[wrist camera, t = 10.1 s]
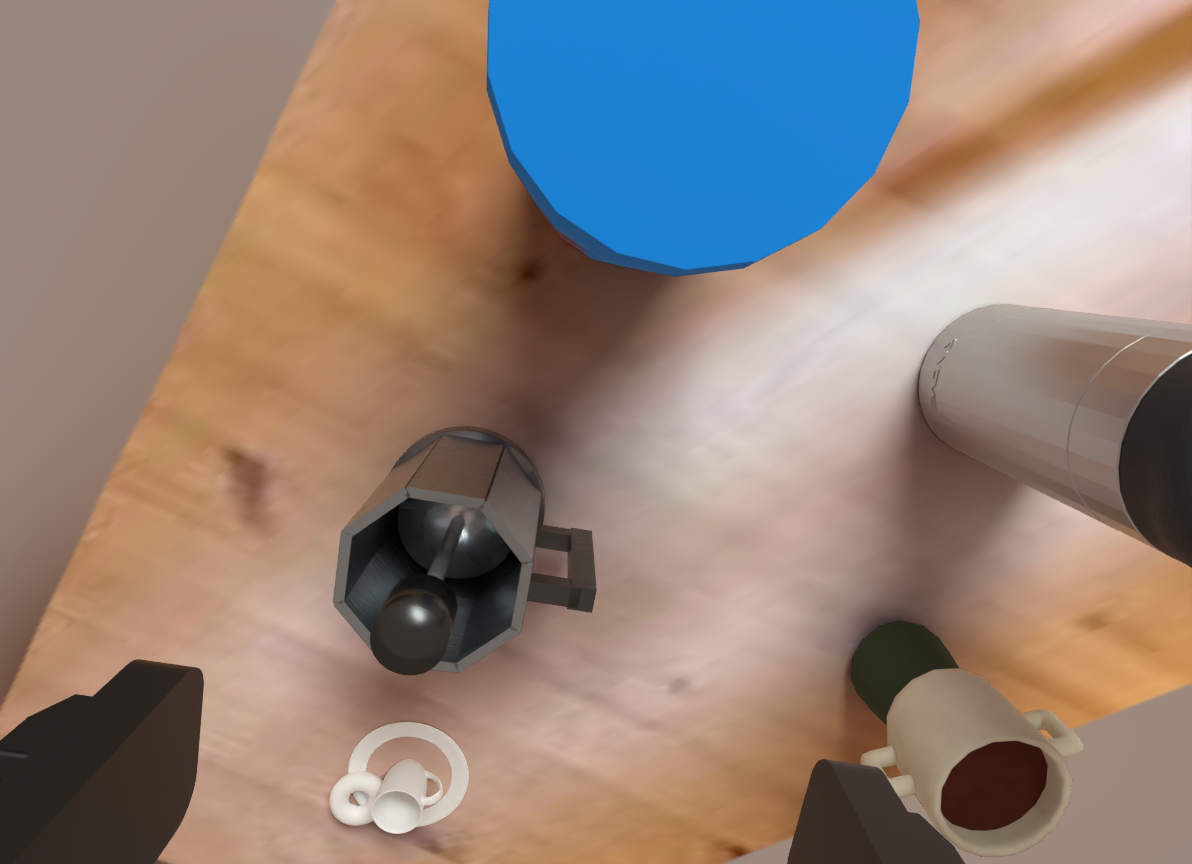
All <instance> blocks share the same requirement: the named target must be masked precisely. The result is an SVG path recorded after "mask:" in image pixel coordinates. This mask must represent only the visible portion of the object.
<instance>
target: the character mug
mask: <svg viewBox="0 0 1192 864" xmlns="http://www.w3.org/2000/svg"><path fill="white" fill-rule="evenodd" d="M851 680H852V682H853V684H854V687H855V689H856V691H857V693H858V695H859V696H860V697H861V698H862V700H863V701H864V702H865V703H866V704H867V706H868V707H869V708H870V709H871V710H872V711H873V712H874V713H875V714H876V715H877V716H878V717H879V718H880V719H881V720H882V721H883V722H884V723H885V724H886V725H887V747H883V748H879V749H875V750H871V751H868V752H866V753H864V754H862V756H861V758H860V763H861V765H867V766H874V767H878V768H880V769H881V770H882V771H883V772H884V770H883V768H885V767H889V766H894V765H897V767H898V769H899V770H900V772H901V774H902V775H901V776H897V777H893V778H888V777H887V775H886V773H885V772H884V774H885V775H886V777H887V779H888V780H889V782H890V783H891V785H892V787H893V788H894V790H895V792H896V793H897V795H898V797H899V798H902V797H906V796H910V795H914V794H915V796H916V797H917V799H918V800H919V802H920V803H921V804H922V806H923V807H924V809H925V810H926V812H927V814H928V815H929V817H930V819H931V820H932V821H933V823H934V825H935V826H936V828H937V829H938V830H939V831H940V832H941V833H942V834H943V835H944V836H945V837H946V838H947V839H948V840H950V841H951V842H952V843H953V844H954V845H955V846H957V847H958V848H959V849H961V850H964V851H967V852H969V853H972V854H975V855H978V856H981V857H1004V856H1011V855H1014V854H1017V853H1020V852H1023V851H1025V850H1027V849H1029V848H1030V847H1032V846H1034V845H1036V844H1038V843H1040V842H1041V841H1042V840H1043V839H1044V838H1045V837H1046V836H1047V835H1048V834H1049V833H1050V832H1051V831H1052V830H1053V829H1054V828H1055V827H1057V826H1058V824H1059V822H1060V820H1061V818H1062V816H1063V815H1064V813H1065V811H1066V809H1067V807H1068V805H1069V803H1070V795H1071V787H1072V777H1071V774H1070V772H1069V769H1068V767H1067V764H1066V761H1065V759H1064V758H1067V757H1071V756H1075V755H1076V754H1078V753H1080V752H1081V751H1082V749H1083V748H1084V747H1083V745H1082V742H1081V740H1080V739H1079V738H1078V736H1077V735H1076V734H1075V733H1074V732H1073V731H1072V730H1071V729H1070V728H1069V727H1068V726H1067V725H1065V724H1064V723H1063V722H1062V721H1061V720H1060V719H1059V718H1058V717H1057V716H1056V715H1055V714H1054V713H1052V712H1050V711H1048V710H1047V709H1046V710H1035V711H1031V712H1027V713H1021V712H1020V711H1019V710H1018V709H1017V708H1016V707H1015V706H1014V705H1013V704H1012V703H1011V702H1010V701H1009V700H1008V699H1007V698H1006V697H1005V696H1004V695H1003V694H1002V693H1001V692H1000V691H999V690H997V689H996V688H995V687H994V686H993V685H992V684H991V683H990V682H988V681H987V680H986V679H984V678H982V677H981V676H979V675H976V674H973V673H970V672H967V671H964V670H961V669H960V668H959V667H958V665H957V664H956V662H955V660H954V659H953V657H952V656H951V654H950V653H949V651H948V650H947V648H946V647H945V646H944V644H943V643H942V642H941V640H940V639H939V638H938V637H937V636H935V635H934V634H933V633H932V632H930V631H929V630H928V629H926V628H925V627H924V626H922V625H917V624H913V623H908V622H903V621H899V622H895V623H891V624H887V625H882V626H879V627H878V628H877V629H875V630H874V631H873V632H872V633H870V634H869V635H868V636H867V637H866V638H864V639H863V640H862V642H861V644H860V646H859V648H858V650H857V652H856V654H855V656H854V657H853V659H852V675H851ZM1039 730H1045V731H1047V732H1048V733H1049V734H1050V735H1051V736H1052V737H1053V738H1054V739H1049V740H1048V739H1047V738H1046V737H1045V736H1044V735H1043V734H1042V733H1041V732H1040V731H1039Z"/></svg>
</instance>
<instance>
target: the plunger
mask: <svg viewBox="0 0 1192 864" xmlns="http://www.w3.org/2000/svg"><path fill="white" fill-rule="evenodd" d="M398 529H399V534H400V537H401V540H402V542H403V544H404V546H405V548H406V550H407V551H408V553H409V554H410V555H411V557H412V558H413V559H414V560H415V561H416V562H417V563H419V564H420V565H421V566H422V567H424V568H425V569H427V570H429V571H428V573H427V574H416V575H412V576H408V577H406V578H404V579H402V580H401V581H400V582H398V583H397V584H396V585H395V586H394V588H393V589H392V591H391V593H390V594H389V596H388V598H387V600H386V602H385V604H384V606H383V608H382V609H381V611H380V613H379V615H378V617H377V619H376V621H375V623H374V624H373V626H372V629H371V633H370V645H371V649H372V652H373V654H374V656H375V657H376V659H377V660H378V661H379V662H380V663H381V664H382V665H383V666H384V667H385V668H387V669H389V670H390V671H392V672H395V673H398V674H402V675H418V674H422V673H425V672H427V671H429V670H431V669H432V668H434V667H435V666H436V665H437V664H438V663H439V662H440V661H441V659H442V658H443V656H444V654H445V651H446V648H447V645H448V642H449V639H450V635H451V632H452V629H453V626H454V623H455V620H456V616H457V612H458V603H457V598H456V596H455V594H454V592H453V590H452V589H451V587H450V586H449V585H448V584H447V583H445V582H444V581H443V579H444V577H449V578H470V577H475V576H479V575H482V574H484V573H486V572H488V571H490V570H492V569H493V568H495V567H496V566H497V565H499V564H500V563H501V562H502V561H503V560H504V559H505V558H506V557H507V555H508V554H509V553H510V551H511V549H510V547H509V546H508V545H507V543H506V542H505V541H504V540H503V538H502V537H501V536H500V534H499V533H498V532H497V530H496V529H495V528H494V527H493V525H492V524H491V523H490V521H489V520H488V519H487V517H486V516H485V515H484V514H483V512H482V511H481V510H480V509H476V508H470V507H464V506H458V505H452V504H445V503H439V502H433V501H427V500H421V499H415V498H407V499H406V500H404V501H403V502H402V503H400V506H399V511H398Z"/></svg>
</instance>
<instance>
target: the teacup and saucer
mask: <svg viewBox="0 0 1192 864" xmlns="http://www.w3.org/2000/svg"><path fill="white" fill-rule="evenodd" d="M398 737H417V738H421V739H424V740H427V741H429V742H431V743H433V744H434V745H436V746H437V747H438V748H440V749H441V750H442V751H443V753H444V754H445V755H446V757H447V758H448V760H449V763H450V765H451V769H452V781H451V785H450V788H449V790H448V792H447V793H446V795H445V796H444V797H443V798H442V796H443V786H442V783H441V781H440V779H439V778H438V777H437V776H435V775H434V774H432V773H430V772H428V771H425V769H424V768H423V766H422V765H421V764H420V763H419V762H417V761H415V760H411V759H405V760H402V761H399V762H398V763H396V764H395V765H394V766H393V767H392V768H391V769H390V770H389V772H388V773H387V775H386V776H385V778H384V780H383V781H382V780H381V779H380V778H379V777H378V776H377V775H375V774H373V773H371V772H366V766H367V762H368V760H369V758H370V756H371V754H372V753H373V752H374V751H375V749H376V748H378V747H379V746H380V745H381V744H383V743H385V742H386V741H389V740H391V739H394V738H398ZM427 778H428V779H432V780H434V781H435V782H436V783H437V784H438V785H439V791H438V792H437V793H436V794H435V795H433V796H431V797H426V790H427ZM468 782H469V770H468V765H467V761H466V759H465V756H464V754H463V752H462V751H461V749H460V748H459V746H458V745H457V744H456V743H455V742H454V741H453V740H452V739H451V738H450V737H449V736H448V735H446V734H445V733H443V732H442V731H440V730H438V729H436V728H434V727H432V726H429V725H426V724H422V723H416V722H397V723H392V724H388V725H385V726H382V727H380V728H377V729H376V730H374V731H372V732H371V733H369V734H368V735H366V736H365V737H364V738H363V739H362V740H361V741H360V742H359V743H358V745H357V746H356V748H355V749H354V751H353V753H352V755H351V758H350V761H349V765H348V774H347V775H345V776H344V777H342V778H341V779H340V780H339V781H338V782H337V783H336V784H335V786H334V787H333V789H332V791H331V793H330V797H329V804H330V809H331V812H332V813H333V815H334V816H335V817H336V818H337V819H338V820H339V821H340V822H342V823H344V824H347V825H352V826H359V825H365V824H368V823H370V822H372V821H374V822H375V823H376V825H377V826H378V827H380V828H381V829H382V830H384V831H386V832H389V833H394V834H401V833H406V832H409V831H411V830H412V829H414V828H415V827H421V826H426V825H430V824H433V823H435V822H437V821H440V820H441V819H443V818H445V817H446V816H448V815H449V814H450V813H452V812H453V811H454V810H455V809H456V808H457V806H458V805H459V804H460V802H461V801H462V799H463V797H464V795H465V793H466V790H467V787H468ZM351 794H353V796H354V798H355V799H356V801H357V802H358V804H359V805H360V806H357V805H353V804H351V803H350V801H349V796H350V795H351ZM441 798H442V799H441ZM440 799H441V800H440ZM439 800H440V801H439ZM438 801H439V802H438ZM437 802H438V803H437ZM435 803H436V804H435ZM433 804H435V805H433ZM429 805H433V806H431V807H429V808H427V809H424V806H429Z"/></svg>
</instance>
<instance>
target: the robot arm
mask: <svg viewBox="0 0 1192 864" xmlns="http://www.w3.org/2000/svg"><path fill="white" fill-rule="evenodd" d="M919 401H920V405H921V409H922V412H923V416H924V417H925V419H926V421H927V423H928V425H929V427H930V428H931V430H932V431H933V432H934V433H935V434H936V435H937V436H938V438H939V439H940V440H942V441H943V442H945V443H946V444H948V445H949V446H950V447H952V448H954V449H956V450H958V451H960V452H962V453H964V454H966V455H968V456H970V457H972V458H974V459H976V460H978V461H980V462H982V463H984V464H985V465H987V466H989V467H991V468H993V469H995V470H997V471H999V472H1001V473H1003V474H1005V475H1007V476H1009V477H1011V478H1013V479H1015V480H1017V481H1019V482H1021V483H1023V484H1025V485H1027V486H1029V487H1031V488H1033V489H1035V490H1037V491H1039V492H1041V493H1043V494H1045V495H1047V496H1049V497H1051V498H1053V499H1055V500H1057V501H1059V502H1061V503H1063V504H1065V505H1068V506H1070V507H1072V508H1074V509H1076V510H1078V511H1080V512H1082V513H1084V514H1086V515H1088V516H1090V517H1092V518H1094V519H1096V520H1098V521H1100V522H1102V523H1104V524H1106V525H1108V526H1110V527H1112V528H1114V529H1116V530H1118V531H1121V532H1123V533H1125V534H1127V535H1129V536H1131V537H1133V538H1135V539H1137V540H1139V541H1141V542H1143V543H1145V544H1147V545H1149V546H1151V547H1153V548H1155V549H1157V550H1159V551H1161V552H1163V553H1165V554H1166V555H1168V556H1170V557H1172V558H1174V559H1176V560H1179V561H1181V562H1183V563H1185V564H1187V565H1188V566H1190V567H1191V568H1192V325H1191V324H1182V323H1173V322H1164V321H1155V320H1145V319H1136V318H1127V317H1118V316H1109V315H1100V314H1091V313H1082V312H1073V311H1063V310H1055V309H1048V308H1039V307H1029V306H1020V305H1011V304H1007V305H991V306H986V307H982V308H978V309H976V310H973V311H971V312H969V313H967V314H965V315H963V316H961V317H960V318H958V319H957V320H956V321H954V322H953V323H951V324H950V325H949V326H948V327H947V328H946V329H945V330H944V331H943V332H942V333H941V334H940V335H939V336H938V337H937V338H936V340H935V341H934V343H933V345H932V346H931V348H930V349H929V351H928V352H927V355H926V358H925V360H924V363H923V365H922V368H921V373H920V379H919ZM203 688H204V680H203V674H202V671H201V670H200V669H199V668H195V667H188V666H181V665H174V664H167V663H160V662H153V661H146V660H139V659H137V660H134V661H132V662H130V663H129V664H128V665H126V666H125V667H124V668H123V669H122V670H121V671H120V672H119V673H118V674H117V675H116V676H114V677H113V678H112V679H111V680H110V681H109V682H108V683H107V684H106V685H105V686H104V687H103V688H101V689H100V690H99V691H98V692H97V693H96V694H95V695H94V696H93V697H91V696H84V695H77V694H75V695H73V696H71V697H69V698H67V699H65V700H63V701H61V702H59V703H57V704H54V705H52V706H50V707H48V708H46V709H44V710H42V711H40V712H38V713H36V714H34V715H31V716H29V717H28V718H26V719H25V720H24V721H23V722H22V723H20V724H19V725H18V726H17V727H16V728H15V729H13V730H12V731H11V732H10V733H9V734H8V735H6V736H5V737H4V738H3V739H2V740H0V864H154V863H155V861H156V860H157V859H158V857H159V856H160V854H161V853H162V851H163V850H164V848H165V847H166V845H167V844H168V842H169V841H170V840H171V838H172V837H173V835H174V834H175V832H176V831H177V829H178V827H179V826H180V824H181V822H182V820H183V818H184V815H185V813H186V811H187V808H188V806H189V803H190V800H191V797H192V794H193V790H194V786H195V781H196V774H197V763H198V751H199V738H200V726H201V713H202V701H203ZM787 864H965V863H964V861H963V860H962V858H961V857H960V855H959V854H958V852H957V851H956V849H955V847H954V846H953V845H952V844H951V843H950V842H949V841H948V840H947V839H945V838H944V837H943V836H942V835H941V834H940V833H939V832H938V831H937V830H936V829H935V828H934V827H932V826H931V825H930V824H929V823H928V822H927V821H926V820H925V819H924V818H923V817H922V816H921V815H920V814H918V813H910V812H908V811H907V810H906V808H905V806H904V805H903V803H902V802H901V800H900V798H899V797H898V795H897V793H896V792H895V790H894V788H893V787H892V785H891V783H890V782H889V780H888V779H887V777H886V775H885V774H884V772H883V771H882V770H881V769H880V768H878V767H874V766H867V765H860V764H853V763H846V762H839V761H832V760H825V759H822V760H819V761H818V762H817V763H816V765H815V767H814V769H813V771H812V774H811V777H810V781H809V784H808V788H807V791H806V795H805V799H804V802H803V806H802V809H801V813H800V817H799V820H798V824H797V827H796V831H795V835H794V838H793V842H792V846H791V849H790V853H789V857H788V863H787Z"/></svg>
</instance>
